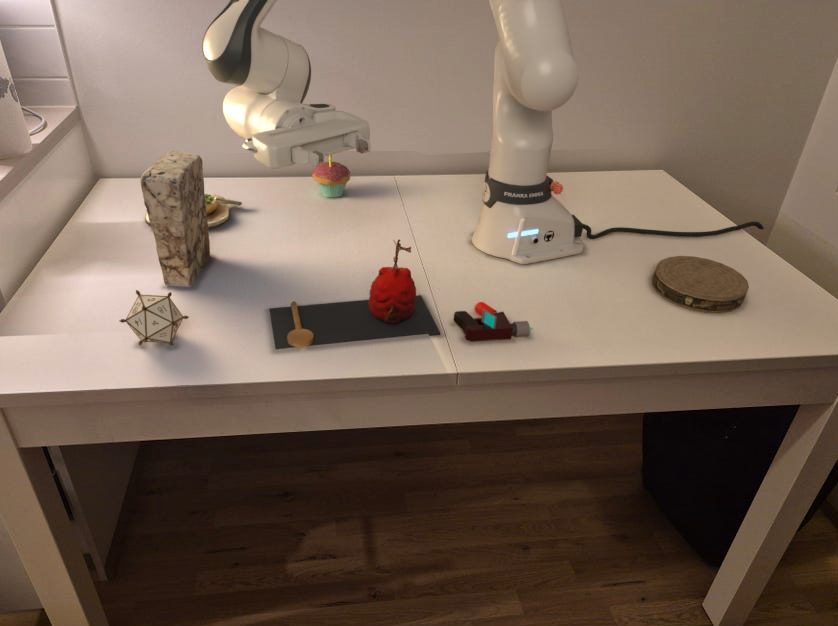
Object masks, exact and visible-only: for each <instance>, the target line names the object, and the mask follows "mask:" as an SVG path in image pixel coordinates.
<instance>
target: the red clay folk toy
mask: <svg viewBox="0 0 838 626" xmlns="http://www.w3.org/2000/svg"><path fill="white" fill-rule="evenodd" d="M392 241H393V243H394V244H395V254H394V255H395V256H393V258H392V259H393V260H392V261H393V266H382V267H381V268H379V270H378V274H377V276H376V277H375V279H374V280H373V281H372V282H371V285H370V289H369V298H368V300H369V308H370V311H371V312H372V314H373V315H374V316H375V317H376V318H377V319H379V320H380V321H382V322H386V323H388V324H396V323H399V322H403V321H404V320H406V319H408V318H409V317H410V316H411V315H412V314H413V312H414V309H415V304H416V302H415V299H416V296H417V288H416V285H415V281H414V280H413V279H414V278H412V272H411V269H409V268H408V267H399V265H398V261H399V254H400V253H399V252H400V251H401V250H402V251H405V252H407V253H411V252H412V246H409V247H405V246H401V245H402V244H401V243H400V242H401V239H397V241H395V239H393V240H392Z"/></svg>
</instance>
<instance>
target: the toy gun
mask: <svg viewBox="0 0 838 626" xmlns="http://www.w3.org/2000/svg"><path fill="white" fill-rule="evenodd" d="M474 311H475V313H477V314H478V315H479V316H481V317H472V315H470V313H469V312H468V311H466V310H458V311H454V313H453V322H454V323H455V324H456V325H457V326H458V327H459V328H460V329H461V330H462V333H463V335H464V338H465V340H466V341H468V342H484V341H504V340H511V339H512V337H514V338H523V337H524V338H525V337H529V336H530V333H531V330H533V329H534V327H531V326H530V323H529V321H527V320H522V321H512V322H510V321H509V319H508V317H507V315H506V314H505V312H504V311H499V312H498V311H497V310H496V309H495V308H493V307H492V306H490V305H489V304H487V303H485V302H484V301H477V303H476V304H475V305H474Z"/></svg>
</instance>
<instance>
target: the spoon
mask: <svg viewBox="0 0 838 626" xmlns="http://www.w3.org/2000/svg"><path fill="white" fill-rule="evenodd" d="M297 306H298V304H297V302H296V301H295V300H292V301H290V307H291V310H292V315H293V320H294V324H295V330H292V331H291V332H289V333H288V335H287V340H288V343H289V344H290V345H292V346H294V347H295V348H305V347H309V346H308V345H310V344H312V342H313V340H314V335H313V333H312V332H311V331H310V330H307V329H302V327H301V322H300V317H299V313H298V308H297Z"/></svg>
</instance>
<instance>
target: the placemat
mask: <svg viewBox="0 0 838 626" xmlns="http://www.w3.org/2000/svg"><path fill="white" fill-rule="evenodd" d="M415 302H416V304H415V309H414V312H413V314H412V315H411V316H410V317H409V318H408V319H406V320H404V321H403V322H399V323H396V324H388V323H386V322H382V321H380V320H379V319H377V318H376V317H375V316H374V315H373V314H372V312H371V311H370V308H369V299H362V300H351V301H339V302H337V301H336V302H328V303H316V304H305V305H297V308H298V313H299V317H300V322H301V327H302V329H307V330H310V331H311V332H312V333H313V335H314V340H313V342H312V344H310V345H308V346H307V347H314V346H322V345H335V344H344V343H354V342H363V341H364V342H365V341H374V340H384V339H394V338H403V337H413V336H422V335H423V336H424V335H428V336H429V337H433V336H434V337H435V336H441V331H440V328H439V327H438V325H437V323H436V321H435V320H434V318H433V315H432V314H431V311H430V309H429V308H428V306H427V304H426V302H425V300H424V298H423V296H422V295H421V294H420V295H419V294H418V295H417V294H416V299H415ZM268 309H269V310H268V311H269V316H270V323H271V329H272V336H273V343H274V348H275V350H283V349H293V348H296V347H294V346H292V345H290V344H289V343H288V340H287V335H288V333H289V332H291V331H292V330H295V324H294V320H293V315H292V310H291V306H281V307H270V308H268Z"/></svg>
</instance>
